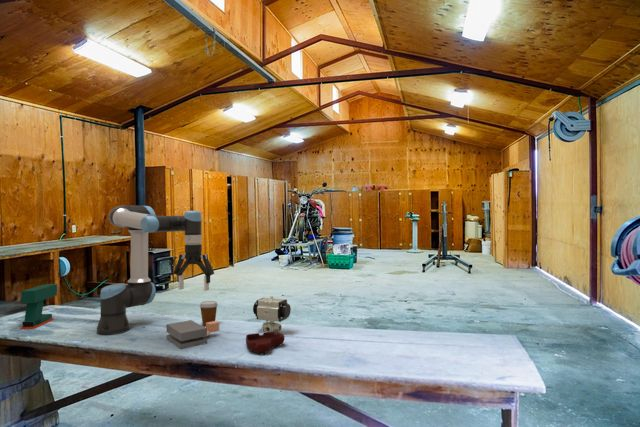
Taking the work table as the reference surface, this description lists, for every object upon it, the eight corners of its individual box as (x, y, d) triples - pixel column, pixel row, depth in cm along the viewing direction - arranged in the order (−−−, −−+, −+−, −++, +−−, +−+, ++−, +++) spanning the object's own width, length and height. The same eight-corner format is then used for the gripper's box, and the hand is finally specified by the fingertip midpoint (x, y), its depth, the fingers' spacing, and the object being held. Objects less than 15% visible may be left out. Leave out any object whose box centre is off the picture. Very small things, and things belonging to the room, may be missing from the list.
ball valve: (251, 332, 199) (251, 297, 199) (260, 328, 207) (260, 294, 207) (283, 336, 192) (282, 299, 192) (291, 331, 200) (290, 296, 200)
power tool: (53, 314, 240) (53, 281, 240) (65, 314, 241) (65, 281, 241) (19, 329, 209) (19, 291, 209) (34, 329, 209) (33, 291, 210)
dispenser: (181, 349, 175) (180, 333, 175) (166, 339, 190) (166, 324, 190) (209, 342, 183) (208, 327, 183) (192, 333, 198) (192, 319, 198)
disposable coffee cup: (212, 327, 209) (212, 304, 209) (196, 326, 211) (196, 304, 211) (221, 322, 218) (220, 301, 218) (205, 322, 220) (204, 300, 220)
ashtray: (258, 339, 188) (258, 329, 188) (287, 344, 181) (287, 333, 181) (233, 351, 172) (233, 339, 172) (264, 357, 165) (264, 345, 165)
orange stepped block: (184, 338, 182) (184, 329, 182) (179, 335, 188) (179, 326, 188) (220, 331, 193) (220, 323, 194) (214, 328, 199) (214, 320, 199)
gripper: (165, 244, 185) (165, 290, 185) (212, 244, 178) (213, 292, 178) (175, 243, 192) (175, 287, 192) (221, 243, 185) (221, 289, 185)
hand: (193, 289), depth 185 cm, fingers open, 13 cm apart
